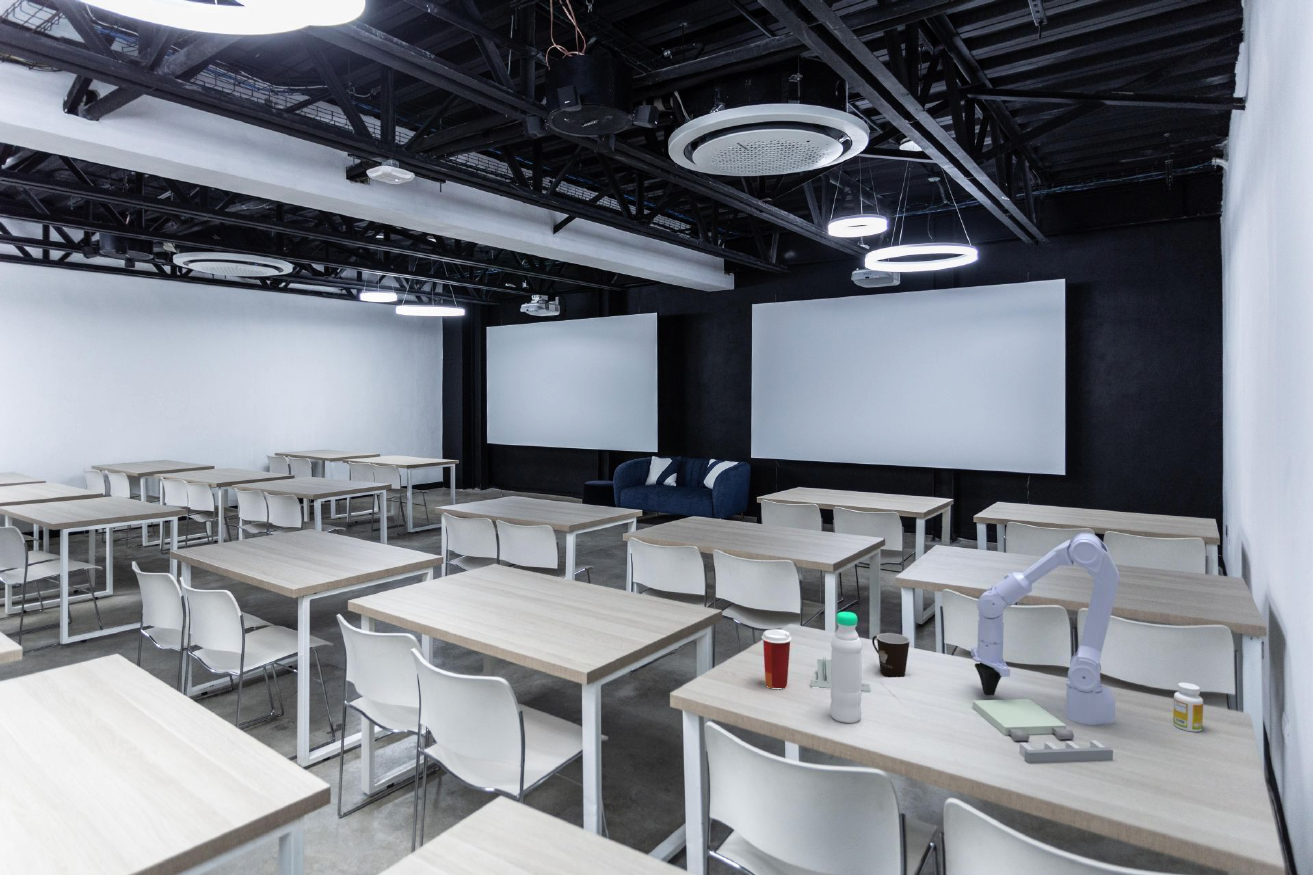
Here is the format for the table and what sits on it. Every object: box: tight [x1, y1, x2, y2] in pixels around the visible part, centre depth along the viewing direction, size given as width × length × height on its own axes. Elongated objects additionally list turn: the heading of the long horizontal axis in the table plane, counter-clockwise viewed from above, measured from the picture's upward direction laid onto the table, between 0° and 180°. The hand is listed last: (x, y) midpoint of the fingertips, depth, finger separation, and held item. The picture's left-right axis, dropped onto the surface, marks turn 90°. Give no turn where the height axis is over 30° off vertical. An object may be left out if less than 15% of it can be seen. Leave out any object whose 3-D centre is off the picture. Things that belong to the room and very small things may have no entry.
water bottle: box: [829, 611, 863, 724], centre depth 167 cm, size 7×7×25 cm
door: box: [972, 698, 1075, 742], centre depth 161 cm, size 14×17×2 cm
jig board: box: [1018, 739, 1114, 764], centre depth 157 cm, size 18×26×4 cm
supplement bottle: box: [1172, 682, 1204, 733], centre depth 162 cm, size 5×5×10 cm
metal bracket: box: [810, 656, 871, 694], centre depth 189 cm, size 14×6×15 cm
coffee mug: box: [871, 632, 911, 679], centre depth 195 cm, size 12×9×10 cm
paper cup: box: [761, 628, 792, 689], centre depth 186 cm, size 8×8×14 cm
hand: (988, 694), depth 175 cm, fingers closed
